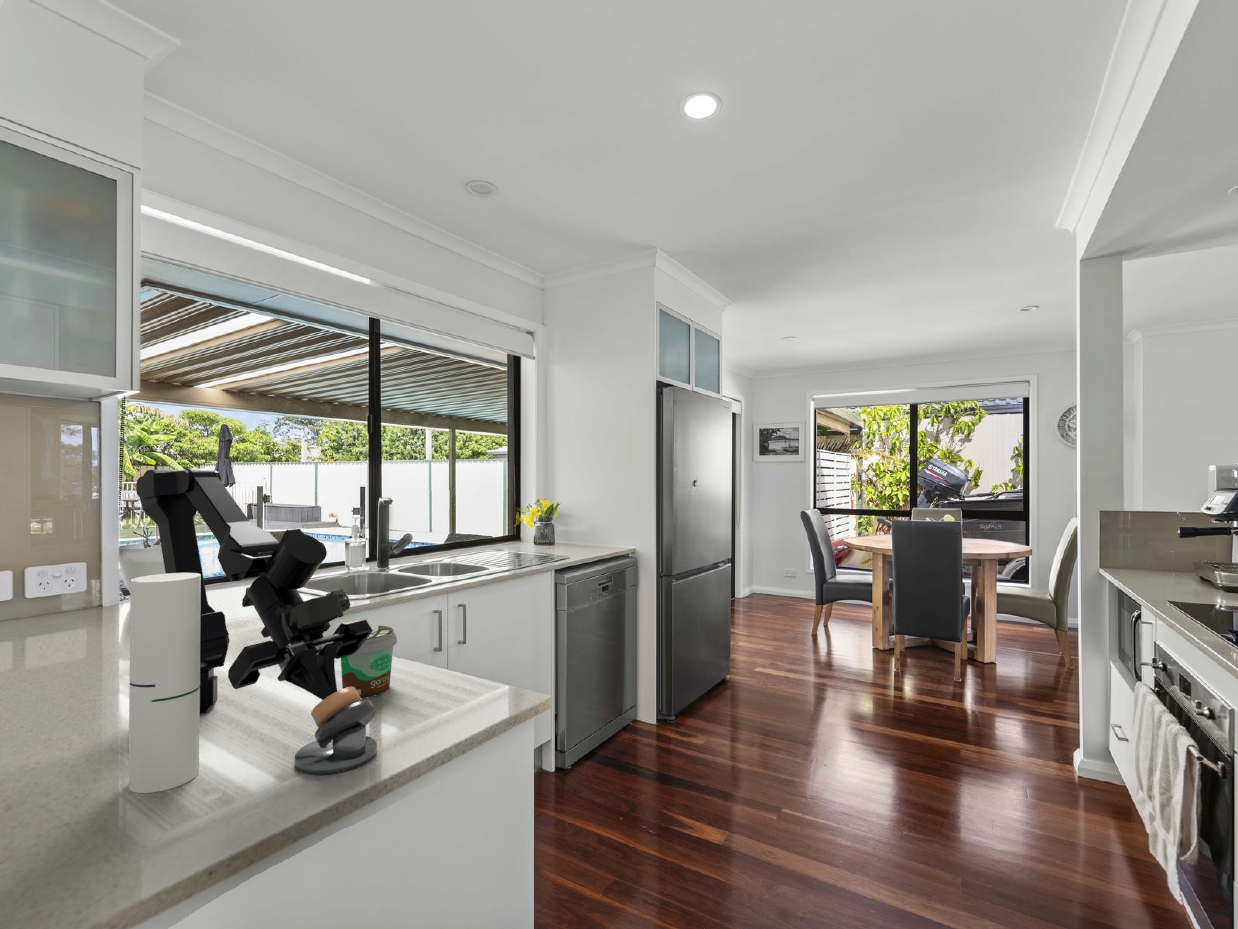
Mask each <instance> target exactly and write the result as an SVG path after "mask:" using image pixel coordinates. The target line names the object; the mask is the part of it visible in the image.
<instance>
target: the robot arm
mask: <svg viewBox="0 0 1238 929" xmlns="http://www.w3.org/2000/svg"><path fill="white" fill-rule="evenodd" d="M135 491H136V494H137V497H138V498H139V501H140V504H141V509H142V511H143V513H145V515H147V516H148V518H150V520H152V521H153V522H154V523H155V524H156V525H157V527H158V528H157V530H158V536H159V540H160V547H161V554H162V558H163V564H164V565H163V566H164V571H165V573H164V574H167V573H198V574H201V613H200V715H205V714H207V713H208V712H209V711H210V710H211V708H212V707H214V705H215V704H216V702H217V701H218V681H219V680H218V676H217V675H215V674H214V673H215V668H222V667H224V666H225V663H226V662H225V661H226V659H227V658H226V657H227V653H228V650H229V645H230V637H229V636H230V635H229V631H228V629H227V624H226V623H227V622H226V615H225V613H224V612H223V611H222V610H220V611H215V609H214V608H213V607H212V606H211V605H210V604H209V601H208V596H207V590H206V585H205V580H204V579H205V578H204V574H203V572H204V571H203V566H202V560H201V555H200V550H199V545H198V544H199V543H198V538H197V532H196V527H195V526H196V525H195V519H194V518H195V516H196V514H197V513H198V514H199V516H200V517H201V519H202V520H203V522H204V523H205V524H206V526H207V527H208V529H209V530H210V532H211V533H212V535H213V537H215V539H216V540H217V542H218V544H219V548H218V553H217V560H218V562H219V564H220V565H221V569H222V571H223V573H224V574H225V576H226V577H227V579H229V580H230V581H232V582H243V581H248V580H253V582H252V583H251V585H250V586H249V587H246V588H245V594H244V595H243V598H242V601H241V602H242V603H241V606H242V607H243V608H247V607H252V606H253V608H254V610H255V611H256V613H257V615H258V616H259V618H260V621H261V623H262V624H263V626H264V627H263V628H262V629H261V631H260V634H261V635H262V637H263V639H265V638H269V637H270V638H271V640H267V641H262V642H258V643H255V644H250V645H247V646H244V647H243V648H242V650H241V651H240V653H239V654H238V656H237V657H236V659H235V660H234V662H233V663H232V664H231V666H230V667H229V669H228V671H227V672H228V673H227V678H228V680H229V682H230V684H231V686H232V688H233V689H234V690H238V689H242V688H244V687H249V686H251V685H255V684H256V683H257V682H258V680H259V678H260V676H261V672H260V670H262V669H267V668H270V667H273V666H277V665H278V667H279V669H280V671H281V672H280V674H279V675H278V677H277V680H278V682H284V681H285V682H288V683H290V684H292V685H294V686H296V687H298V688H301V689H303V690H305V691H307V692H308V693H309V694H312V695H313V696H315V697H317V698H318V699H320V700H321V701H322V700H324V699H325V698H327V697H328V696H330V695H331V694H333V693H335V692H337V691H338V687H337V678H336V672H335V671H336V670H335V669H336V667H335V663H336V662H335V659H336V660H339V659H341V658H342V657H346V656H349V655H352V654H354V653H355V652H357V650H358V649H359V648H360V647H361V645H362V644H363V643H364V642H365V640H366V639H367V638H368V637H369V635H370V634H371V633H373V631H374V630H373V629H372V627H371V625H370V624H369V622H368V621H367V619H363V618H357V619H353V620H349V621H345V622H342V623H340V624H339V625H338V627H337V628H336V629H335V631H334V632H333V634H331V635H328V636H324V635H323V634H324V633H325V632H328V631H329V629H330V628H331V626H332V625H331V624H330V622H331V621H334V620H335V619H338V618H339V619H340V618H342V617H343V616H344V612H347V611H348V610H349V609H350V608H351V601H350V598H349V596H348V595H347V594H346V592H345V591H344V590H343V589H342V588H340V589H334V590H331V591H330V592H329V593H328V592H327V593H326V594H325V596H318V597H317V596H316V597H314V598H310V599H307V600H304V599H303V598H302V596H301V594H300V592H299V591H298V590H299V589H302V588H304V587H306V586H307V584H308V583H309V582H310V581H311V579H312V577H314V575H315V573H316V571H318V569H319V568H320V566H321V565H322V563H323V562H324V560H325V559H326V558H327V554H328V553H327V552H328V551H327V547H326V546H325V544H324V543H323V542H320V540H318V539H317V538H316V537H313V536H311V535H309V534H305V533H303V531H302V530H301V528H292V529H286V530H285V532H284V533H283V534H282V537H281V540H280V541H279V540H278V539H276V538H275V537H274V536H273V535H272V534H271V533H270V532H269V531H268V530H265V529H264V528H261V527H259V526H256V525H254V523H252V522H251V520H249V519H248V517H247V516H246V513H244V511H243V510H242V509H241V507H240V506H239V505H238V503H237V502H236V501H235V498H234V497H232V495H231V494H230V492H229V490H227V488H226V486H225V485H224V484H223V483H222V477H221V474H220V472H219V471H218V470H214V469H212V468H185V469H148V470H146V471H145V472H144V473H143V475H142V476H139V477H138V479H137V481H136V484H135Z"/></svg>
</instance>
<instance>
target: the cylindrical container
mask: <svg viewBox="0 0 1238 929" xmlns="http://www.w3.org/2000/svg"><path fill="white" fill-rule="evenodd" d="M129 602H130V606H129V607H130V613H129V614H130V615H129V617H130V619H129V620H130V623H129V627H130V628H129V634H130V635H129V684H128V685H129V691H128V693H129V695H128V696H129V697H128V698H129V699H128V700H129V703H128V706H129V709H128V712H129V713H128V722H129V723H128V776H127V777H128V779H127V780H128V781H127V782H128V783H127V784H128V785H127V786H128V787H127V788H128V790H129V791H130V790H131V792H132V793H135V794H151V793H157V792H164V791H168V790H170V789H175V788H177V787H180V786H182V785H184V784H186V783H188V782H191V781H192V780H193V779H195V778H196V777H197V776H198V775H199V772H200V715H201V714H200V613H201V574H198V573H167V574H166V573H158V574H150V575H143V576H142V575H141V576H137V577H133V578H131V579H130V601H129Z"/></svg>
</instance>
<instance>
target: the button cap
mask: <svg viewBox="0 0 1238 929" xmlns="http://www.w3.org/2000/svg"><path fill="white" fill-rule="evenodd" d="M361 700H363V699H361V697H360V695H359V694H358V692H357V690H356V689H355V687H346V688H341V689H338V690H337V692H335V693H333V694H331V695H330V696H328V697H327V698H325V699H324V700H322V699H321V700H320V701H319V703H317V705H315V706H314V708H312V711H311V712H310V715H311V717H312V719H313V721H314V723H315V725H316V726H317V729H318V728H319V727H320V726H321V725H322V724H323V723H324V722H325V721H326V720H328V719H329V718H330V717H331V716H333V715H334V714H336V713H337V712H339V711H340V710H342V709H344V708H345V707H347V706H349V705H351V704H353V703H356V702H358V701H361Z"/></svg>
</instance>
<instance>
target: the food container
mask: <svg viewBox="0 0 1238 929" xmlns="http://www.w3.org/2000/svg"><path fill="white" fill-rule="evenodd" d="M377 628H378V629H377V630H376V631H374V632H372V633H371V634H370V635H369V637H368V638H367V639H366V640H365V642H364V643H363V644H362V645H361V647H360V648H359V649H358V650H357V652H355V653H354V654H352V655H349V656H346V657H342V658H340V670H341V684H342V685H341V686H342V688H341V689H343V688H346V687H355V689H356V690H357V692H358V694H359V695H360V697H361V698H364V699H368V698H367V697H370V698H372V697H371V696H374V695H378V696H379V695H382V694H381V693H383V692H385V691H386V692H387V690H388V689H389V690H390V686H391V674H392V661H393V653H394V652H393V650H394V646H395V645H396V644H398V639H397V635H396V632H395V630H394V628H393V627H391V626H388V625H380V624H379V625H378V626H377ZM389 690H388V691H389ZM386 692H385V693H386ZM383 694H384V693H383ZM374 697H375V696H374Z"/></svg>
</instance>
